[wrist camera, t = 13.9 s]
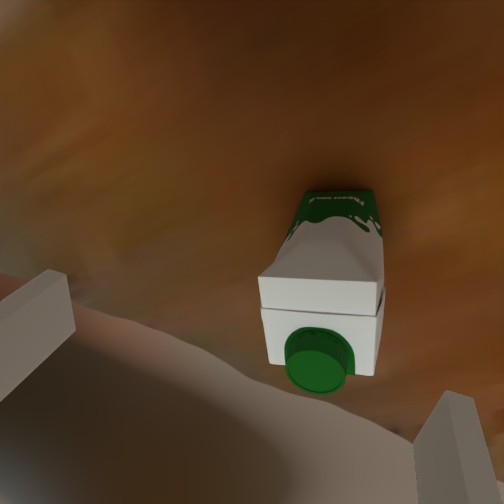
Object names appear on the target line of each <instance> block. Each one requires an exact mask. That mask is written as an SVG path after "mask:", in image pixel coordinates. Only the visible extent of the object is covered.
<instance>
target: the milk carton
mask: <svg viewBox="0 0 504 504" xmlns="http://www.w3.org/2000/svg"><path fill="white" fill-rule="evenodd" d="M258 281H259V289H260V296H261V316H262V321H263V325H264V331H265V338H266V344H267V351H268V357H269V362H270V363H271V364H279V365H285V371H286V374H287V376H288V378H289V380H290V381H291V382H292V383H293V384H294V385H295V386H297V387H298V388H300V389H301V390H303V391H305V392H308V393H312V394H317V395H326V394H331V393H334V392H336V391H338V390H339V389H340V388H341V387H342V386H343V385H344V383H345V379H346V374H348V375H355V374H361V375H367V376H373V375H374V370H375V364H376V359H377V354H378V349H379V344H380V338H381V331H382V322H383V313H384V303H385V287H384V261H383V239H382V231H381V225H380V221H379V216H378V212H377V207H376V203H375V199H374V194H373V190H367V191H332V192H305V194H304V196H303V199H302V201H301V203H300V206H299V208H298V211H297V213H296V215H295V218H294V220H293V222H292V225H291V227H290V229H289V231H288V233H287V235H286V237H285V239H284V242H283V244H282V246H281V248H280V250H279V252H278V254H277V256H276V258H275V261H274V263H273V264H271V265H270V266H269V267H268V268H267V269H266V270H265V271H264V272H263V273H262V274H261V275H260V276H258ZM383 289H384V293H383Z"/></svg>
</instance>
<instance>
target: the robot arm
mask: <svg viewBox="0 0 504 504" xmlns="http://www.w3.org/2000/svg"><path fill="white" fill-rule="evenodd" d="M74 331H76V328H75V323H74V317H73V312H72V306H71V300H70V294H69V288H68V283H67V277H66V274H63V273H60V272H56V271H53V270H50V269H47V270H46V271H44V272H43V273H41V274H40V275H38V276H37V277H35V278H34V279H33V280H31V281H30V282H28V283H27V284H25V285H24V286H22V287H21V288H19V289H18V290H16V291H15V292H13V293H12V294H10V295H9V296H7V297H6V298H4V299H3V300H2V301H0V402H1V401H2V400H3V399H4V398H5V397H6V396H7V395H8V394H9V393H10V392H11V391H12V390H13V389H14V388H15V387H16V386H17V385H18V384H20V383H21V382H22V381H23V380H24V379H25V378H26V377H27V376H28V375H29V374H30V373H31V372H32V371H33V370H34V369H35V368H36V367H38V366H39V365H40V364H41V363H42V362H43V361H44V360H45V359H46V358H47V357H48V356H49V355H50V354H51V353H52V352H53V351H54V350H56V348H58V347H59V346H60V345H61V344H62V343H63V342H64V341H65V340H66V339H67V338H68V337H69V336H70V335H71V334H72V333H74ZM413 449H414V459H415V470H416V480H417V491H418V501H419V504H503V502H502V499H501V496H500V492H499V488H498V485H497V481H496V478H495V474H494V470H493V467H492V463H491V460H490V456H489V453H488V449H487V446H486V442H485V438H484V435H483V431H482V428H481V424H480V421H479V417H478V414H477V410H476V407H475V403H474V399H473V398H471V397H468V396H465V395H461V394H458V393H455V392H451V391H448V390H445V392H444V393H443V395H442V397H441V398H440V400H439V401H438V403H437V405H436V406H435V408H434V410H433V411H432V413H431V414H430V416H429V418H428V419H427V421H426V423H425V424H424V426H423V427H422V429H421V431H420V432H419V434H418V435H417V437H416V439H415V440H414V442H413Z"/></svg>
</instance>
